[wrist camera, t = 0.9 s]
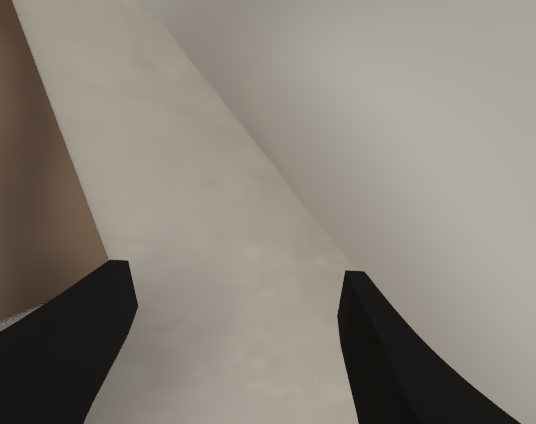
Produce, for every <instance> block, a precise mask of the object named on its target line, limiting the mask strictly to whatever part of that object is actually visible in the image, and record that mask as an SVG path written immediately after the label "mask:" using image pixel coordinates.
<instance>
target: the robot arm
mask: <svg viewBox="0 0 536 424" xmlns="http://www.w3.org/2000/svg"><path fill="white" fill-rule="evenodd" d="M137 308H138V303H137V299H136V294H135V290H134V285H133V281H132V276H131V272H130V267H129V263H128V261H124V260H109V261H107V262H106V263H104V264H103V265H101V266H100V267H98V268H97V269H95V270H94V271H92V272H91V273H89V274H88V275H87V276H85V277H84V278H82V279H81V280H79V281H78V282H77V283H75V284H74V285H72V286H71V287H69V288H68V289H66V290H65V291H64V292H62V293H61V294H59V295H58V296H56V297H55V298H53V299H52V300H50V301H49V302H47V303H46V304H44V305H43V306H41V307H39V308H38V309H36V310H35V311H33V312H32V313H30V314H28V315H27V316H25V317H24V318H22V319H21V320H19V321H17V322H16V323H14V324H13V325H11V326H9V327H8V328H6V329H4V330H2V331H1V332H0V424H83V423H84V421H85V418H86V416H87V414H88V412H89V410H90V407H91V405H92V403H93V401H94V399H95V397H96V395H97V393H98V391H99V390H100V388H101V386H102V384H103V382H104V380H105V378H106V376H107V374H108V372H109V370H110V368H111V367H112V365H113V363H114V361H115V359H116V357H117V355H118V353H119V351H120V349H121V347H122V345H123V343H124V341H125V339H126V337H127V335H128V333H129V330H130V328H131V325H132V323H133V320H134V317H135V314H136V311H137ZM337 317H338V326H339V335H340V343H341V349H342V353H343V357H344V362H345V366H346V370H347V375H348V379H349V383H350V387H351V391H352V396H353V400H354V404H355V408H356V412H357V417H358V422H359V424H521V423H519V422H518V421H516V420H515V419H514V418H512V417H511V416H510V415H508V414H507V413H506V412H505V411H503V410H502V409H501V408H499V407H498V406H497V405H495V404H494V403H493V402H492V401H490V400H489V399H488V398H487V397H485V396H484V395H483V394H482V393H480V392H479V391H478V390H477V389H475V388H474V387H473V386H472V385H471V384H470V383H468V382H467V381H466V380H465V379H464V378H462V377H461V376H460V375H459V374H458V373H457V372H456V371H455V370H453V369H452V368H451V367H450V366H449V365H448V364H447V363H445V361H444V360H442V359H441V358H440V357H439V356H438V355H437V354H436V353H435V352H434V351H433V350H432V349H431V348H430V347H429V346H428V345H427V344H426V343H425V342H424V341H423V340H422V339H421V338H420V337H419V336H418V335H417V334H416V333H415V332H414V330H413V329H412V328H411V327H410V326H409V325H408V324H407V323H406V322H405V320H404V319H403V318H402V317H401V316H400V315H399V313H398V312H397V311H396V310H395V309H394V308H393V306H392V305H391V304H390V303H389V302H388V300H387V299H386V298H385V297H384V296H383V294H382V293H381V292H380V291H379V289H378V288H377V287H376V286H375V284H374V283H373V282H372V280H371V279H370V278H369V277H368V275H367V274H366V273H365V272H363V271H345V275H344V281H343V287H342V293H341V298H340V304H339V310H338V315H337Z"/></svg>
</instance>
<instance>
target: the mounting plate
mask: <svg viewBox="0 0 536 424" xmlns="http://www.w3.org/2000/svg"><path fill="white" fill-rule="evenodd" d="M107 261H109V260H108V258H107V255H106V252H105V249H104V247H103V244H102V241H101V239H100V236H99V233H98V231H97V228H96V225H95V223H94V220H93V217H92V215H91V212H90V209H89V207H88V204H87V201H86V198H85V196H84V193H83V190H82V188H81V185H80V182H79V180H78V177H77V174H76V172H75V169H74V166H73V164H72V161H71V158H70V156H69V153H68V150H67V148H66V145H65V142H64V139H63V137H62V134H61V131H60V129H59V126H58V123H57V121H56V118H55V115H54V113H53V110H52V107H51V105H50V102H49V99H48V97H47V94H46V91H45V88H44V86H43V83H42V80H41V78H40V75H39V72H38V70H37V67H36V64H35V62H34V59H33V56H32V54H31V51H30V48H29V46H28V43H27V40H26V37H25V35H24V32H23V29H22V27H21V24H20V21H19V19H18V16H17V13H16V11H15V8H14V5H13V3H12V0H0V320H2V319H4V318H7V317H9V316H12V315H14V314H17V313H19V312H22V311H24V310H27V309H29V308H32V307H34V306H37V305H39V304H41V303H44V302H46V301H49V300H51V299H53V298H55V297H56V296H58V295H59V294H61V293H62V292H64V291H65V290H66V289H68V288H69V287H71V286H72V285H74V284H75V283H77V282H78V281H79V280H81V279H82V278H84V277H85V276H87V275H88V274H89V273H91V272H92V271H94V270H95V269H97V268H98V267H100V266H101V265H103V264H104V263H106V262H107Z"/></svg>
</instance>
